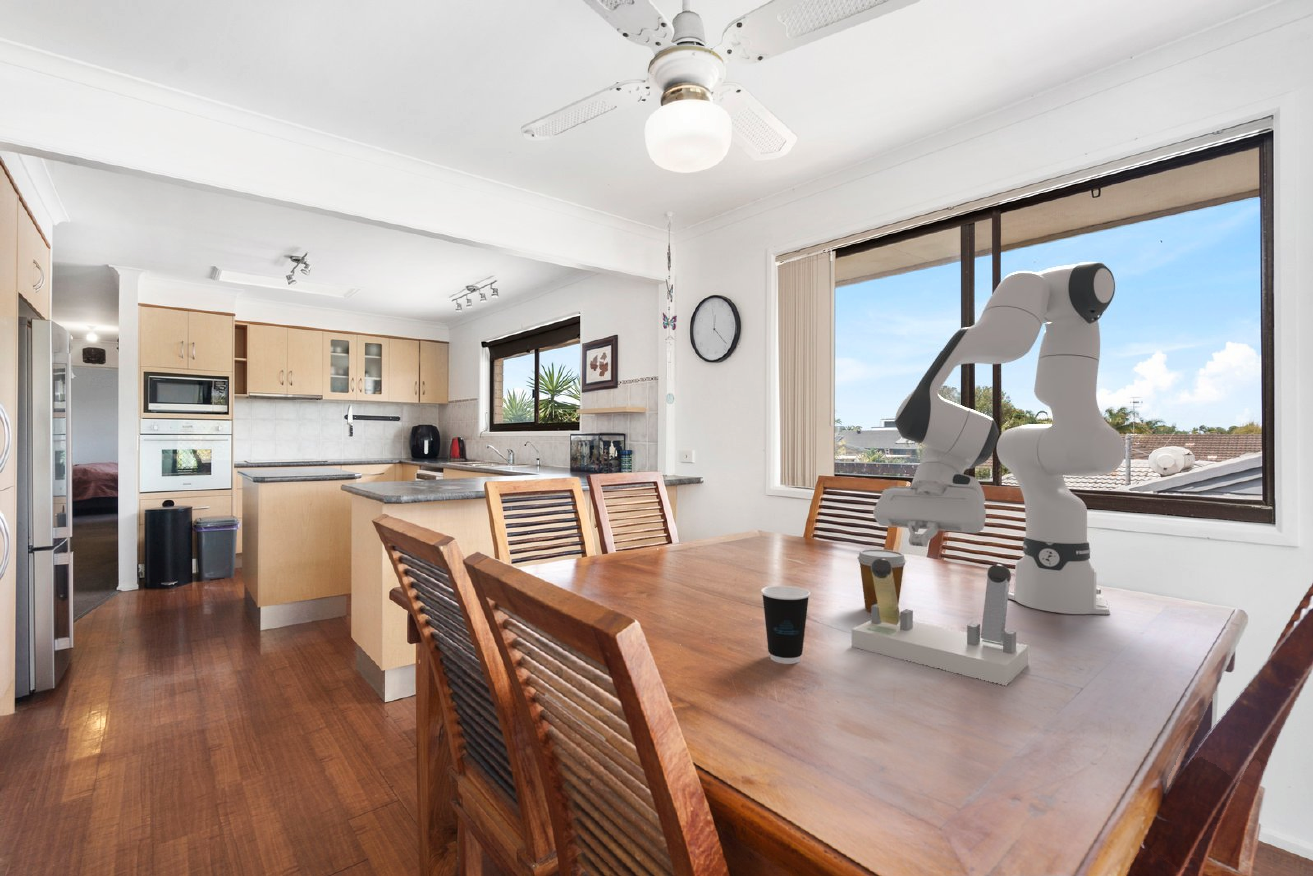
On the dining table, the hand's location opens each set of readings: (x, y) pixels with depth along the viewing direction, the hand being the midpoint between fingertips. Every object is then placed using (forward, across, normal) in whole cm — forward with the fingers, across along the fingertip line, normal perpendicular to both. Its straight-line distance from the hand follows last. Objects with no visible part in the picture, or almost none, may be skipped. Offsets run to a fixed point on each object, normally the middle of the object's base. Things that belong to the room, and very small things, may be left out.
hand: (917, 544), depth 117 cm
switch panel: (+20, +8, +2) cm, 21 cm away
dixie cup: (+33, -9, -12) cm, 36 cm away
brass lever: (+17, 0, +1) cm, 17 cm away
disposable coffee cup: (+7, -11, +16) cm, 20 cm away
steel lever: (+17, +16, +1) cm, 23 cm away
